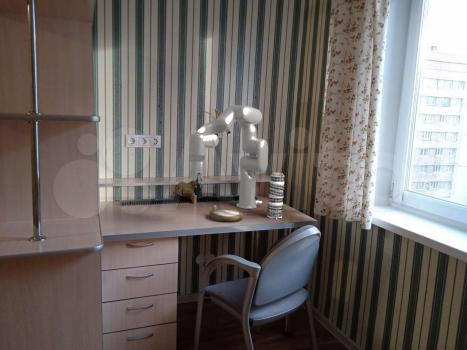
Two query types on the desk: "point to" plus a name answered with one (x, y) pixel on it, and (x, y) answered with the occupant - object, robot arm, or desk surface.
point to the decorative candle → (276, 195)
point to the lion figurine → (186, 187)
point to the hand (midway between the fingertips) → (196, 193)
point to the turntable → (225, 214)
